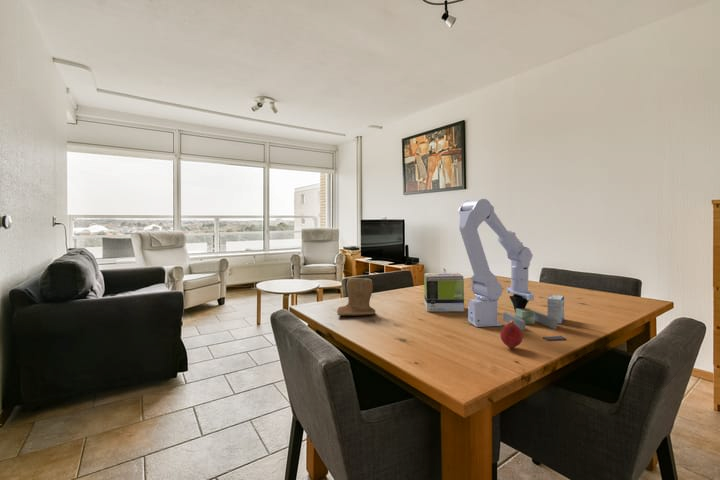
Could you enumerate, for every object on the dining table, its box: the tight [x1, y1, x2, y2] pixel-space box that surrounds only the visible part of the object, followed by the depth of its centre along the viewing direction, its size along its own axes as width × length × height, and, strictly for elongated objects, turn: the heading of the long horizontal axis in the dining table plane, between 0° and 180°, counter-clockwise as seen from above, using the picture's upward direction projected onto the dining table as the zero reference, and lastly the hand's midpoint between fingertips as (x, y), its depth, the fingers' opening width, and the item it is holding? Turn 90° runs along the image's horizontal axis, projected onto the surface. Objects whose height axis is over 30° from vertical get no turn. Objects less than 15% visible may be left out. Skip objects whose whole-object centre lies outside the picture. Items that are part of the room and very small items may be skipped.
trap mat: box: [542, 335, 567, 342], centre depth 104 cm, size 6×2×1 cm, turn 95°
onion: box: [499, 320, 524, 350], centre depth 97 cm, size 6×6×8 cm
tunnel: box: [502, 310, 558, 331], centre depth 120 cm, size 12×12×3 cm
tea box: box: [423, 272, 465, 312], centre depth 142 cm, size 15×10×15 cm, turn 84°
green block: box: [515, 307, 536, 325], centre depth 122 cm, size 4×4×4 cm
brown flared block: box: [336, 277, 376, 317], centre depth 136 cm, size 15×12×15 cm
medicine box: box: [546, 294, 565, 325], centre depth 123 cm, size 8×4×9 cm, turn 143°
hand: (519, 315), depth 126 cm, fingers closed
